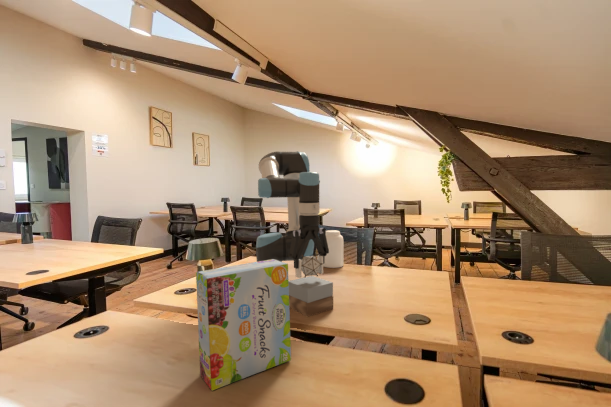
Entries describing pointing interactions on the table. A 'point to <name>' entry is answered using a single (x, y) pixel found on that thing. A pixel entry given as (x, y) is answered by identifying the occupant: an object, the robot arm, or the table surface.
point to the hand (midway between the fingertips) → (309, 274)
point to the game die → (310, 265)
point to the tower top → (310, 289)
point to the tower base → (311, 305)
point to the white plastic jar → (334, 249)
